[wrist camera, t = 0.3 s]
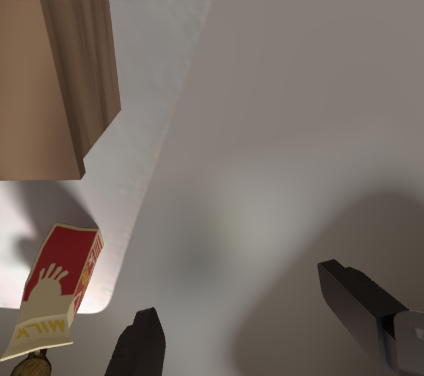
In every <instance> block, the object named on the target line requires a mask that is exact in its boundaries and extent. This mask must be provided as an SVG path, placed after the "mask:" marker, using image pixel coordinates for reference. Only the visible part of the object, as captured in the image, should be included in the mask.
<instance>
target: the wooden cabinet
mask: <svg viewBox="0 0 424 376" xmlns="http://www.w3.org/2000/svg"><path fill="white" fill-rule="evenodd" d="M120 110H121V104H120V95H119V87H118V78H117V69H116V60H115V51H114V42H113V33H112V24H111V15H110V7H109V0H0V181H7V180H81V179H82V177H83V176H84V174H85V173H86V172H85V167H84V162H83V158H84V157H85V156H86V154H87V153H88V152H89V150H90V149H91V148H92V147H93V145H94V144H95V143H96V141H97V140H98V139H99V137H100V136H101V135H102V134H103V132H104V131H105V130H106V128H107V127H108V126H109V125H110V123H111V122H112V121H113V119H114V118H115V117H116V115H117V114H118V113H119V112H120Z"/></svg>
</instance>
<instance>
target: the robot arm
mask: <svg viewBox="0 0 424 376" xmlns="http://www.w3.org/2000/svg"><path fill="white" fill-rule="evenodd" d="M318 273H319V279H320V285H321V291H322V294H323V297H324V299H325V301H326V303H327V304H328V306H329V307H330V308H331V310H332V311H333V312H334V313H335V314H336V316H337V317H338V318H339V320H340V321H341V322H342V323H343V325H344V326H345V327H346V328H347V329H348V331H349V332H350V333H351V335H352V336H353V337H354V338H355V340H356V341H357V342H358V343H359V345H360V346H361V347H362V349H364V351H365V352H366V353H367V355H368V356H369V357H370V359H371V360H372V361H373V362H374V363H375V365H376V366H377V367H378V369H379V370H380V371H381V372H382V373H384V372H387V371H391V370H393V371H394V372H395V373H396V374H397V375H398V376H424V313H422V312H418V311H410V310H409V309H407V308H406V307H405V306H404V305H402V304H401V303H400V302H399V301H397V300H396V299H395V298H394V297H392V296H391V295H390V294H389V293H387V292H386V291H385V290H384V289H382V288H381V287H379V285H377V284H376V283H375V282H374V281H371V279H370V278H369V277H368V276H366V275H365V274H364V273H363V272H361V271H359V270H356V269H354V268H351V267H347V268H344V267H343V266H342V265H341V264H340V263H339V262H337V261H336V260H335V259H332V260H329V261H325V262H321V263H318ZM165 348H166V342H165V335H164V332H163V329H162V326H161V323H160V321H159V318H158V315H157V312H156V310H155V308H154V307H152V308H149V309H145V310H141V311H138V312H137V313H136V316H135V319H134V322H133V325H130V326H127V328H126V329H125V330H124V331H123V333H122V334H121V335H120V337H119V339H118V342H117V344H116V347H115V350H114V352H113V355H112V359H111V360H110V363H109V365H108V368H107V370H106V373H105V375H104V376H162V369H163V362H164V355H165Z"/></svg>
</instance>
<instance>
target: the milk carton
mask: <svg viewBox="0 0 424 376" xmlns="http://www.w3.org/2000/svg"><path fill="white" fill-rule="evenodd" d="M103 246H104V243H103V240H102V237H101V233H100V230H99V229H94V228H79V227H75V226H70V225H66V224H61V223H57V222H56V223H55V224H54V226H53V228H52V229H51V231H50V232H49V234H48V236H47V237H46V239H45V241H44V242H43V244H42V245H41V247H40V249H39V252H38V254H37V257H36V259H35V262H34V264H33V266H32V269H31V271H30V274H29V276H28V278H27V281H26V283H25V287H24V292H23V296H22V301H21V306H20V311H19V315H18V320H17V325H16V328H15V330H14V333H13V336H12V338H11V341H10V344H9V347H8V349H7V350H6V352H5V353H4V355H3V356H2V358H1V359H0V360H1V361H3V360H6V359H10V358H13V357H16V356H19V355H23V354H26V353H29V352H32V351H35V350H39V349H44V348H49V347H55V346H61V345H67V344H73V341H72V340H71V339H70V338H69V327H70V325H71V323H72V321H73V319H74V317H75V315H76V313H77V311H78V309H79V307H80V304H81V302H82V299H83V297H84V294H85V291H86V289H87V286H88V284H89V281H90V279H91V276H92V273H93V270H94V266H95V263H96V260H97V258H98V256H99V254H100V252H101V250H102V248H103Z"/></svg>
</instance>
